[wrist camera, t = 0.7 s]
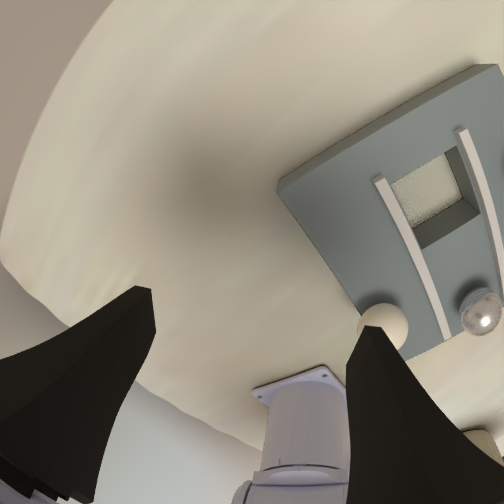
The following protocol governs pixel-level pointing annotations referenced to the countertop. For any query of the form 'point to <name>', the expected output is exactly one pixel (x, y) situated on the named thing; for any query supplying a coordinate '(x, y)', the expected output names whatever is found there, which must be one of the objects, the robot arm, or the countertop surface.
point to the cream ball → (386, 322)
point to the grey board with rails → (393, 217)
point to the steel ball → (480, 311)
